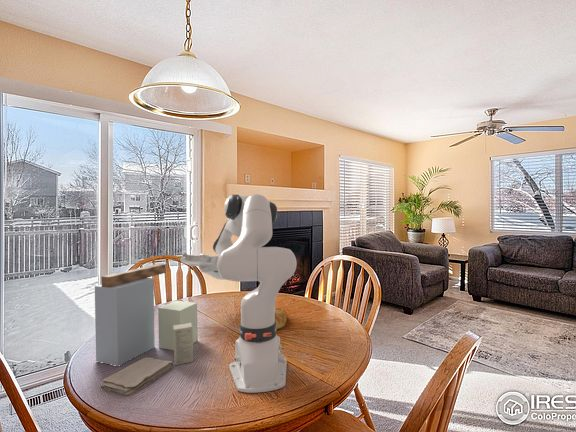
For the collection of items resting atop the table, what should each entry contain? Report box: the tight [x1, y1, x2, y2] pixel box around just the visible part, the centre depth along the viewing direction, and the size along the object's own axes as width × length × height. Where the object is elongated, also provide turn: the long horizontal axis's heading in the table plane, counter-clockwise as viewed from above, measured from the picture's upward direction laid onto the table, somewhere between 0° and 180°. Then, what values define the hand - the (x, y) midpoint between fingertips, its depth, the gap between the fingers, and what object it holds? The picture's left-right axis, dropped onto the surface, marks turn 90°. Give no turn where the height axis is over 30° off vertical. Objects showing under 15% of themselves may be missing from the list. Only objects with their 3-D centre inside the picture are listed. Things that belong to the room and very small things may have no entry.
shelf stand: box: [94, 277, 156, 367], centre depth 110 cm, size 16×10×26 cm, turn 159°
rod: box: [101, 263, 167, 288], centre depth 115 cm, size 26×4×4 cm, turn 159°
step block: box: [157, 300, 199, 351], centre depth 118 cm, size 10×10×15 cm
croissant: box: [275, 308, 288, 330], centre depth 138 cm, size 21×10×8 cm, turn 162°
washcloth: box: [100, 356, 175, 396], centre depth 95 cm, size 12×18×3 cm, turn 159°
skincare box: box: [173, 323, 194, 366], centre depth 105 cm, size 6×4×12 cm
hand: (192, 255), depth 137 cm, fingers open, 8 cm apart
